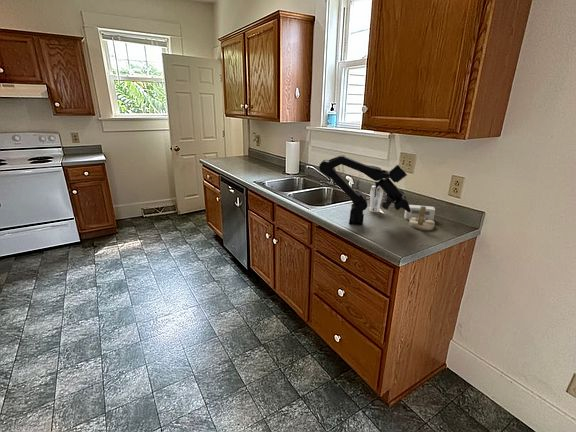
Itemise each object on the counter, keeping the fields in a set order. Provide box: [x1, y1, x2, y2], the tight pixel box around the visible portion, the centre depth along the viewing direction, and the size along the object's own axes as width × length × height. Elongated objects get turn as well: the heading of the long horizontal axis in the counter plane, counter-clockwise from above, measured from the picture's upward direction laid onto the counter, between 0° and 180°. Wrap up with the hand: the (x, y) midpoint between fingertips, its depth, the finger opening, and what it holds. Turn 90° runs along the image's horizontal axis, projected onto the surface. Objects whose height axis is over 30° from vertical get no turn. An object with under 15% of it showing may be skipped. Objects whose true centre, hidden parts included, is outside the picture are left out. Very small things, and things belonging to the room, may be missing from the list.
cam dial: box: [408, 205, 436, 231], centre depth 158 cm, size 12×12×12 cm
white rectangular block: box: [403, 204, 436, 221], centre depth 168 cm, size 14×6×7 cm, turn 77°
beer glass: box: [368, 184, 384, 214], centre depth 178 cm, size 7×7×15 cm
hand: (410, 211), depth 155 cm, fingers closed
